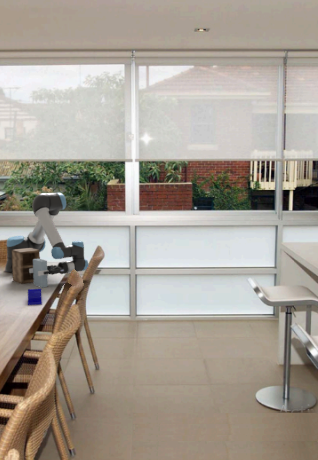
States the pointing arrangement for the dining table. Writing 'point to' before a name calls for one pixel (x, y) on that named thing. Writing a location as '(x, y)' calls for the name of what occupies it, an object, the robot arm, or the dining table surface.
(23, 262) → the cabinet
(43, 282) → the upright grey-blue slab
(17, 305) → the dining table surface
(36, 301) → the mounting bracket
